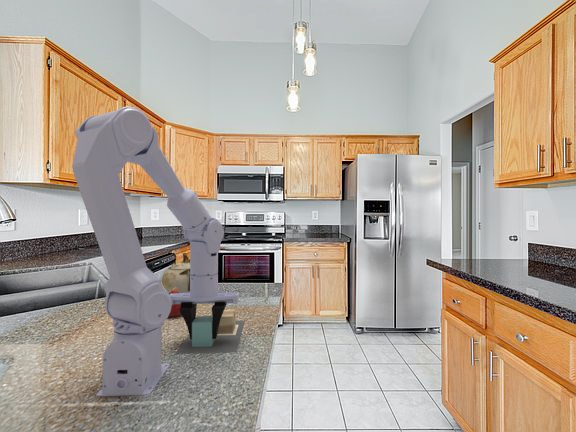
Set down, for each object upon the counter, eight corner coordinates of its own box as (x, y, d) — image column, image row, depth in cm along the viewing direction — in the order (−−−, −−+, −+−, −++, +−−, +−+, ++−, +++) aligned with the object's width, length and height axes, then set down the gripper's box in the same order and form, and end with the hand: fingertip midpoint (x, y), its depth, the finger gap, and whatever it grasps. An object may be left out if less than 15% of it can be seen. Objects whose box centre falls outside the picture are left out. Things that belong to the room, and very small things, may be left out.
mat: (236, 354, 59) (236, 352, 59) (174, 356, 59) (174, 353, 59) (244, 322, 77) (244, 320, 77) (197, 323, 77) (197, 321, 77)
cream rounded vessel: (158, 293, 107) (158, 251, 107) (200, 288, 114) (200, 249, 115) (165, 308, 90) (165, 258, 90) (215, 301, 97) (215, 254, 97)
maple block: (232, 333, 69) (232, 316, 69) (210, 334, 69) (210, 316, 69) (235, 325, 74) (235, 309, 74) (214, 326, 74) (214, 309, 74)
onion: (177, 322, 78) (178, 291, 78) (158, 320, 79) (158, 290, 79) (189, 314, 84) (189, 286, 84) (170, 313, 85) (171, 285, 85)
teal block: (211, 346, 62) (211, 322, 62) (192, 346, 62) (192, 322, 62) (215, 338, 66) (215, 315, 66) (196, 338, 66) (196, 316, 66)
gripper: (240, 270, 68) (240, 329, 68) (175, 270, 68) (175, 330, 68) (236, 276, 61) (236, 342, 61) (164, 276, 61) (164, 344, 61)
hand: (204, 337), depth 64 cm, fingers closed on teal block, 4 cm apart
